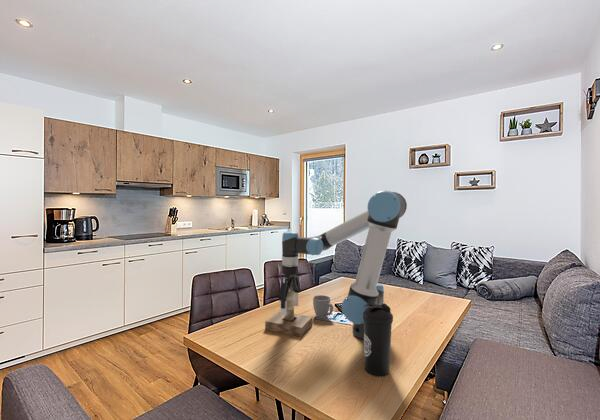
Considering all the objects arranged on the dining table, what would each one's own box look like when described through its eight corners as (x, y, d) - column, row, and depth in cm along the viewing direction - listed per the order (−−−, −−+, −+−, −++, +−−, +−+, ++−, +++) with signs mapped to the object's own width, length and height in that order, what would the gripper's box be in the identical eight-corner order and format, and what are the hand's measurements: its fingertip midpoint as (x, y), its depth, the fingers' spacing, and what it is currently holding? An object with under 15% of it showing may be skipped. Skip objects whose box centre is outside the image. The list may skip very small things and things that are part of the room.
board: (312, 324, 145) (312, 316, 144) (301, 336, 132) (301, 327, 131) (278, 319, 151) (278, 311, 151) (265, 329, 138) (265, 321, 138)
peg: (295, 324, 143) (295, 290, 142) (291, 327, 138) (292, 293, 138) (286, 322, 144) (287, 289, 144) (282, 326, 140) (283, 291, 140)
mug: (309, 315, 156) (309, 297, 156) (321, 311, 162) (321, 294, 162) (326, 322, 148) (326, 303, 147) (338, 318, 153) (338, 299, 153)
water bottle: (358, 362, 111) (359, 300, 110) (385, 361, 111) (386, 300, 111) (367, 378, 100) (368, 310, 100) (396, 377, 101) (397, 309, 101)
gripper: (293, 260, 154) (292, 301, 154) (270, 269, 131) (270, 318, 131) (306, 261, 151) (306, 303, 151) (286, 271, 128) (286, 320, 128)
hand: (289, 310), depth 141 cm, fingers open, 13 cm apart
